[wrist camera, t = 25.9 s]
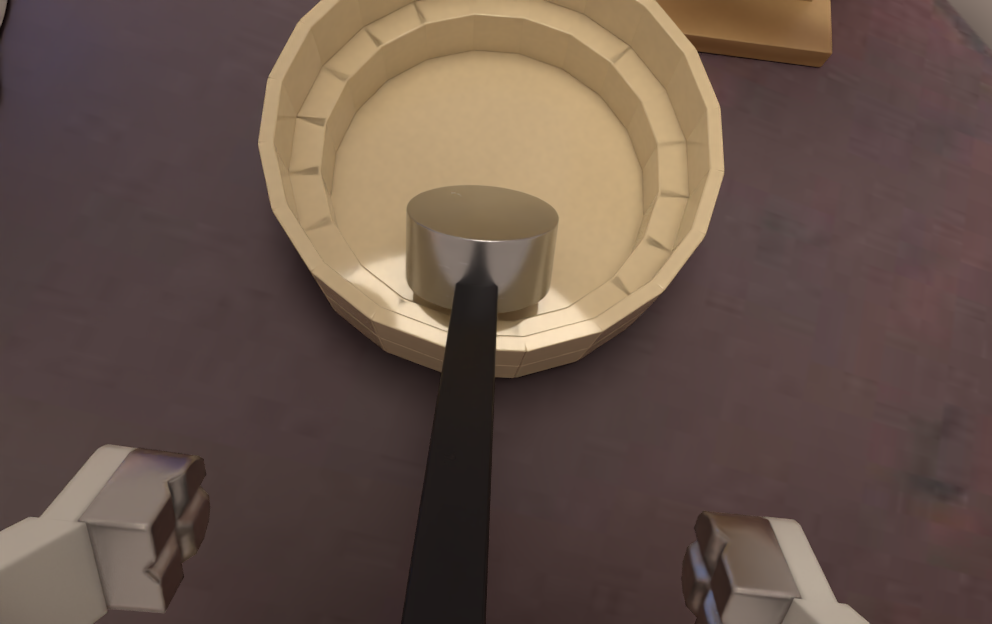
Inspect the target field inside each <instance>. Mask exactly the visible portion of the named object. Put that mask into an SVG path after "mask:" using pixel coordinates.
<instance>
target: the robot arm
mask: <svg viewBox="0 0 992 624" xmlns="http://www.w3.org/2000/svg"><path fill="white" fill-rule="evenodd" d="M6 6H7V0H0V27H1V24H2V21H3V18H4V15H5V10H6ZM205 476H206V470H205V464H204V459H203V458H201V457H200V456H197V455H190V454H182V453H175V452H167V451H160V450H152V449H145V448H132V447H125V446H118V445H110V444H106V445H104V446H102V447H100V448H98V449H97V450H96V451H95V452H94V453H93V455H92V456H91V457H90V458H89V459H88V460H87V462H86V463H85V464H84V465H83V466H82V468H81V469H80V470H79V471H78V472H77V474H76V475H75V476H74V477H73V478H72V479H71V481H70V482H69V483H68V484H67V485H66V487H65V488H64V489H63V490H62V491H61V492H60V494H59V495H58V496H57V497H56V498H55V500H54V501H53V502H52V503H51V504H50V506H49V507H48V508H47V509H46V510H45V511H44V513H43V514H42V515H41V516H40V517H39V518H37V517H28V518H26V519H24V520H22V521H20V522H18V523H16V524H14V525H12V526H10V527H8V528H6V529H4V530H2V531H0V624H93V623H94V622H96V621H97V620H98V619H99V618H101V617H102V616H103V615H105V614H106V613H107V609H116V610H129V611H142V612H156V613H165V611H166V609H167V608H168V606H169V604H170V602H171V600H172V598H173V596H174V595H175V593H176V591H177V589H178V587H179V585H180V583H181V582H182V580H183V578H184V574H183V567H182V563H183V562H184V561H186V560H188V559H189V558H191V557H192V556H194V555H195V554H196V553H197V551H198V549H199V547H200V545H201V543H202V541H203V539H204V537H205V533H206V530H207V526H208V523H209V515H210V501H209V495H208V494H207V493H206V492H205V491H204V489H203V488H202V487H201V486H200V485H201V483H202V481H203V479H204V478H205ZM694 529H695V533H696V537H697V541H695V542H694V543H692V544H691V545H689V546H688V547H687V549H686V553H685V556H684V559H683V564H682V576H681V580H682V591H683V596H684V600H685V605H686V607H687V608H688V609H689V610H690V611H691V612H692V613H693V614H694V615H695V616H696V617H697V618H696V621H695V623H694V624H870V623H869V622H868V621H866V620H865V619H864V618H863V617H862V616H860V615H859V614H858V613H857V612H856V611H855V610H853V609H852V608H851V607H850V606H849V605H847V604H841V603H838V602H837V600H836V598H835V596H834V594H833V592H832V590H831V588H830V586H829V584H828V582H827V580H826V577H825V575H824V573H823V571H822V569H821V567H820V565H819V563H818V561H817V559H816V557H815V555H814V553H813V551H812V549H811V546H810V544H809V542H808V540H807V538H806V536H805V534H804V532H803V530H802V528H801V526H800V524H799V523H798V522H796V521H795V520H794V519H783V518H773V517H760V516H750V515H740V514H730V513H720V512H710V511H702V513H701V514H700V515H699V516H698V518H697V521H696V524H695V526H694Z"/></svg>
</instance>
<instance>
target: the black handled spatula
mask: <svg viewBox="0 0 992 624" xmlns="http://www.w3.org/2000/svg"><path fill="white" fill-rule="evenodd" d="M558 223H559V216H558V213H557V212H556V210H555V209H554V208H553V207H552V206H551V205H549V204H548V203H547V202H545V201H543V200H541V199H539V198H537V197H535V196H532V195H529V194H526V193H523V192H520V191H516V190H511V189H506V188H500V187H493V186H482V185H457V186H447V187H440V188H435V189H431V190H428V191H425V192H422V193H420V194H418V195H416V196H415V197H413V198H412V199H411V200H410V201H409V203H408V204H407V208H406V281H407V283H408V285H409V287H410V288H411V289H412V290H413V291H414V292H415V293H416V294H417V295H418V296H420V297H421V298H423V299H425V300H427V301H428V302H431V303H433V304H435V305H438V306H441V307H444V308H448V309H451V314H450V321H449V327H448V333H447V339H446V346H445V352H444V358H443V364H442V371H441V377H440V383H439V389H438V395H437V402H436V408H435V414H434V420H433V427H432V433H431V439H430V445H429V451H428V458H427V464H426V470H425V476H424V483H423V489H422V495H421V501H420V508H419V514H418V520H417V526H416V532H415V539H414V545H413V551H412V557H411V564H410V570H409V576H408V582H407V588H406V595H405V601H404V607H403V613H402V620H401V624H486V599H487V573H488V547H489V521H490V495H491V469H492V443H493V416H494V390H495V364H496V338H497V313H505V312H511V311H516V310H520V309H524V308H527V307H529V306H532V305H534V304H536V303H537V302H539V301H540V300H542V299H543V298H544V297H545V296H546V295H547V293H548V292H549V289H550V285H551V277H552V269H553V262H554V254H555V246H556V239H557V231H558Z"/></svg>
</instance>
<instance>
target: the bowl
mask: <svg viewBox="0 0 992 624" xmlns="http://www.w3.org/2000/svg"><path fill="white" fill-rule="evenodd" d="M258 148H259V153H260V157H261V162H262V167H263V171H264V176H265V181H266V185H267V190H268V195H269V199H270V204H271V209H272V211H273V213H274V215H275V216H276V218H277V220H278V221H279V223H280V224H281V226H282V228H283V229H284V231H285V233H286V234H287V236H288V237H289V239H290V241H291V242H292V244H293V245H294V247H295V249H296V250H297V252H298V254H299V255H300V257H301V258H302V260H303V262H304V263H305V265H306V266H307V268H308V270H309V271H310V273H311V274H312V276H313V277H314V279H315V281H316V282H317V284H318V285H319V287H320V289H321V290H322V292H323V293H324V295H325V296H326V298H327V300H328V301H329V303H330V304H331V306H332V308H333V309H334V310H335V311H336V312H337V313H338V314H339V315H341V316H342V317H343V318H344V319H346V320H347V321H348V322H349V323H350V324H352V325H353V326H354V327H355V328H357V329H358V330H359V331H360V332H362V333H363V334H364V335H365V336H367V337H368V338H369V339H370V340H372V341H373V342H374V343H375V344H377V345H378V346H379V347H380V348H382V349H383V350H385V351H386V352H388V353H391V354H394V355H396V356H399V357H402V358H404V359H407V360H409V361H412V362H415V363H417V364H420V365H423V366H425V367H428V368H431V369H433V370H436V371H439V372H441V371H442V364H443V358H444V352H445V346H446V339H447V333H448V327H449V321H450V314H451V309H448V308H444V307H441V306H438V305H435V304H433V303H431V302H428V301H427V300H425V299H423V298H421V297H420V296H418V295H417V294H416V293H415V292H414V291H413V290H412V289H411V288H410V287H409V285H408V283H407V281H406V208H407V204H408V203H409V201H410V200H411V199H412V198H413V197H415V196H416V195H418V194H420V193H422V192H425V191H428V190H431V189H435V188H440V187H447V186H457V185H482V186H493V187H500V188H506V189H511V190H516V191H520V192H523V193H526V194H529V195H532V196H535V197H537V198H539V199H541V200H543V201H545V202H547V203H548V204H549V205H551V206H552V207H553V208H554V209H555V210H556V212H557V213H558V216H559V223H558V231H557V239H556V246H555V254H554V262H553V269H552V277H551V285H550V289H549V292H548V293H547V295H546V296H545V297H544V298H543V299H542V300H540V301H539V302H537V303H536V304H534V305H532V306H529V307H527V308H524V309H520V310H516V311H511V312H505V313H497V338H496V364H495V377H503V378H514V377H520V376H524V375H528V374H531V373H535V372H539V371H542V370H546V369H550V368H553V367H557V366H561V365H565V364H568V363H572V362H576V361H577V360H580V359H582V358H583V357H585V356H586V355H588V354H589V353H591V352H592V351H594V350H595V349H597V348H598V347H600V346H601V345H603V344H604V343H606V342H607V341H609V340H610V339H612V338H613V337H615V336H616V335H618V334H619V333H621V332H622V331H624V330H625V329H627V328H628V327H629V326H630V325H632V324H633V323H634V322H635V320H636V319H637V318H638V317H639V316H640V315H641V314H642V313H643V312H644V311H645V310H646V309H647V308H648V307H649V306H650V305H651V304H652V303H653V302H654V301H655V300H656V299H657V298H658V297H659V296H660V295H661V294H662V293H663V292H664V291H665V289H666V288H667V287H668V285H669V284H670V283H671V281H672V280H673V279H674V277H675V276H676V275H677V273H678V272H679V271H680V269H681V268H682V267H683V265H684V264H685V263H686V261H687V260H688V259H689V257H690V256H691V255H692V253H693V252H694V251H695V249H696V248H697V247H698V245H699V244H700V243H701V241H702V240H703V239H704V238H705V235H706V233H707V230H708V226H709V223H710V220H711V216H712V213H713V210H714V206H715V203H716V200H717V196H718V193H719V190H720V186H721V183H722V179H723V176H724V157H723V140H722V124H721V109H720V105H719V103H718V100H717V98H716V95H715V93H714V91H713V88H712V86H711V83H710V81H709V78H708V76H707V74H706V71H705V69H704V66H703V64H702V62H701V59H700V57H699V54H698V52H697V50H696V48H695V47H694V46H693V45H692V43H691V42H690V41H689V40H688V39H687V37H686V36H685V35H684V34H683V33H682V31H681V30H680V29H679V28H678V27H677V25H676V24H675V23H674V22H673V21H672V19H671V18H670V17H669V16H668V15H667V14H666V12H665V11H664V10H663V9H662V8H661V6H660V5H659V4H658V3H657V2H656V0H321V1H320V2H319V3H318V4H316V5H315V6H314V7H313V8H312V9H311V10H310V11H309V12H308V13H307V14H306V15H305V16H304V17H302V18H301V19H300V21H299V22H298V23H297V25H296V27H295V29H294V30H293V32H292V34H291V36H290V38H289V40H288V41H287V43H286V45H285V47H284V49H283V51H282V52H281V54H280V56H279V58H278V60H277V62H276V63H275V65H274V67H273V69H272V71H271V73H270V74H269V76H268V79H267V85H266V92H265V99H264V105H263V112H262V118H261V125H260V132H259V138H258Z"/></svg>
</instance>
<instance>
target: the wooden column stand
mask: <svg viewBox="0 0 992 624" xmlns="http://www.w3.org/2000/svg"><path fill="white" fill-rule="evenodd" d="M656 2H657V3H658V4H659V5H660V6H661V8H662V9H663V10H664V11H665V12H666V14H667V15H668V16H669V17H670V18H671V19H672V21H673V22H674V23H675V24H676V25H677V27H678V28H679V29H680V30H681V31H682V33H683V34H684V35H685V36H686V37H687V39H688V40H689V41H690V42H691V43H692V45H693V46H694V47H695V48H696V50H697V51H699V52H707V53H714V54H722V55H730V56H737V57H745V58H753V59H760V60H768V61H776V62H783V63H791V64H798V65H806V66H814V67H821V66H822V65H823V64H824V63H825V61H826V60H827V59H828V58H829V57H830V55H831V54H832V29H831V1H830V0H656Z"/></svg>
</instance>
